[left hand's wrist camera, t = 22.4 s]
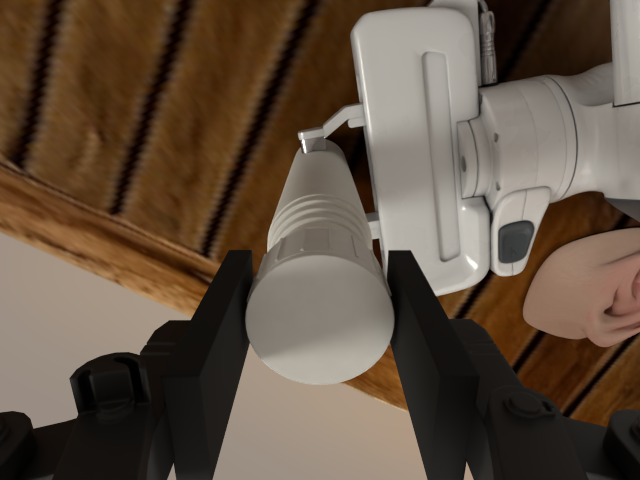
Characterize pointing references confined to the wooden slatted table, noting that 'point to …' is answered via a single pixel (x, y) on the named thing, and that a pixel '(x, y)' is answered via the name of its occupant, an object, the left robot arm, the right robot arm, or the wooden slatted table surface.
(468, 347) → the left robot arm
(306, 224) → the bottle
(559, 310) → the anatomical model
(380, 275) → the cap
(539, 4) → the wooden slatted table surface
